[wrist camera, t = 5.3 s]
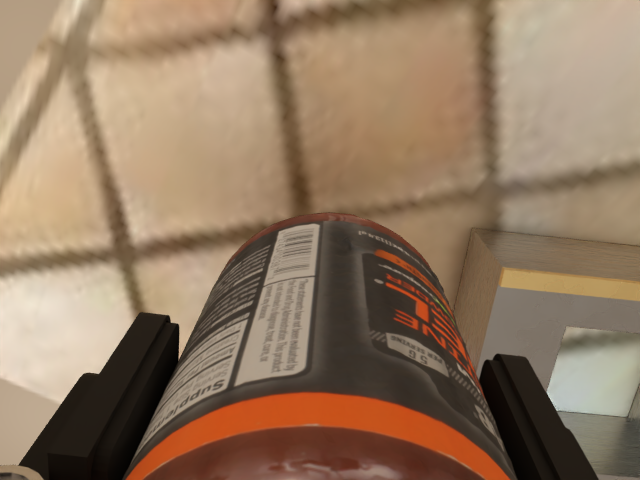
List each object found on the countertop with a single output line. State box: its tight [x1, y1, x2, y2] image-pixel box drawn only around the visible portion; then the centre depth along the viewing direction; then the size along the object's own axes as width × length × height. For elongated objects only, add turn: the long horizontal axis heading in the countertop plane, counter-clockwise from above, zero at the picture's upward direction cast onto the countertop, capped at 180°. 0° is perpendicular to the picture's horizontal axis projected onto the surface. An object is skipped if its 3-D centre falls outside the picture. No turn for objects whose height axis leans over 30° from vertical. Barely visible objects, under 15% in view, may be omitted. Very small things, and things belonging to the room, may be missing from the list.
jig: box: [453, 228, 640, 480], centre depth 30 cm, size 15×13×5 cm
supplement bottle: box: [122, 213, 517, 480], centre depth 10 cm, size 6×6×11 cm
